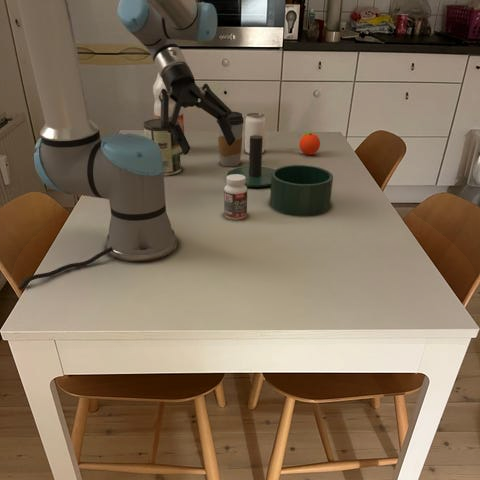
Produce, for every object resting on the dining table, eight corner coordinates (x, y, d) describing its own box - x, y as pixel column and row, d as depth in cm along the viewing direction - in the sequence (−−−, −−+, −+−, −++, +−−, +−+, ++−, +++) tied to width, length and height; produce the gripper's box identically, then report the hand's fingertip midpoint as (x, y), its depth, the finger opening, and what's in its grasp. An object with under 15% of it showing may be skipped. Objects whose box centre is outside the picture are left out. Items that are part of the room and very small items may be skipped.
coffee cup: (248, 162, 164) (249, 113, 156) (234, 169, 159) (234, 118, 150) (226, 157, 168) (226, 109, 160) (211, 164, 162) (210, 114, 154)
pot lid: (275, 191, 143) (277, 147, 136) (219, 185, 147) (218, 141, 140) (288, 173, 156) (291, 132, 149) (236, 167, 160) (237, 127, 153)
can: (264, 155, 171) (265, 117, 164) (244, 154, 171) (245, 117, 164) (263, 149, 177) (265, 112, 170) (244, 149, 177) (245, 112, 170)
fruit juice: (151, 151, 173) (143, 59, 157) (171, 145, 179) (166, 56, 163) (170, 156, 168) (164, 62, 152) (190, 150, 174) (186, 59, 158)
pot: (323, 219, 128) (327, 188, 123) (263, 211, 132) (264, 181, 127) (333, 197, 140) (337, 168, 136) (278, 190, 144) (279, 162, 139)
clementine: (291, 154, 172) (293, 132, 168) (301, 149, 177) (303, 128, 173) (312, 159, 168) (315, 136, 164) (322, 153, 173) (324, 132, 169)
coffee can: (171, 163, 163) (168, 116, 155) (187, 172, 156) (185, 124, 148) (141, 168, 158) (137, 120, 150) (156, 178, 151) (152, 128, 143)
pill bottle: (237, 222, 126) (237, 182, 120) (219, 216, 129) (219, 177, 123) (251, 215, 130) (252, 176, 124) (233, 209, 133) (233, 171, 127)
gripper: (134, 66, 119) (172, 147, 118) (221, 58, 132) (256, 130, 131) (126, 87, 126) (162, 163, 125) (210, 77, 139) (243, 146, 137)
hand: (210, 147), depth 128 cm, fingers open, 13 cm apart
